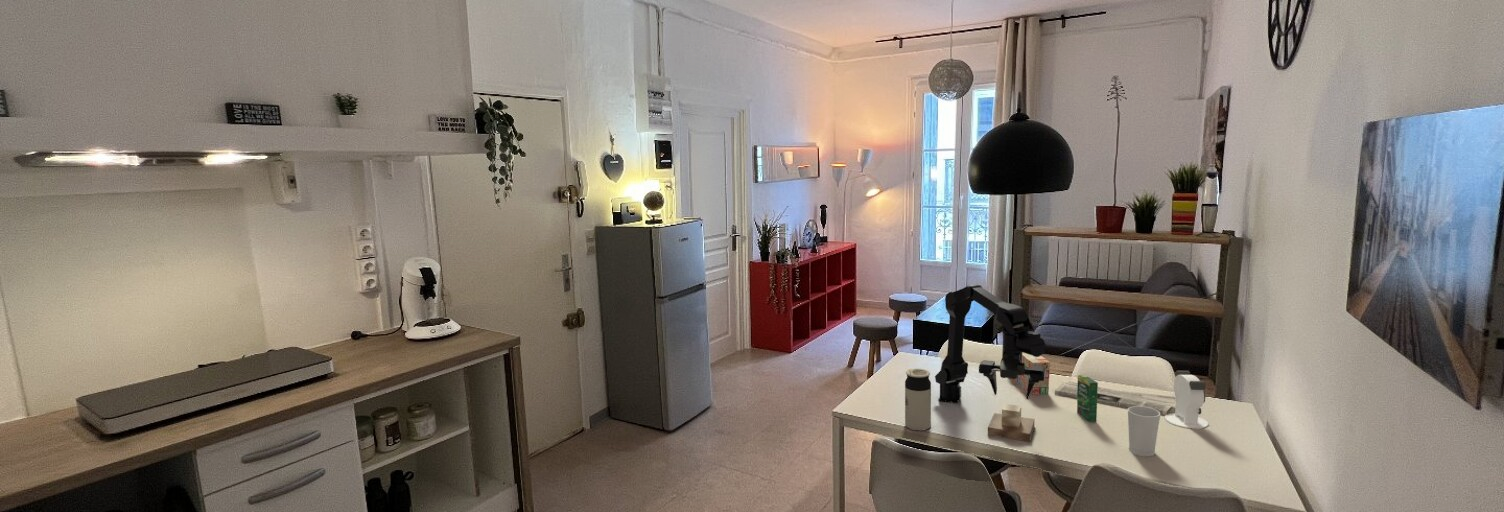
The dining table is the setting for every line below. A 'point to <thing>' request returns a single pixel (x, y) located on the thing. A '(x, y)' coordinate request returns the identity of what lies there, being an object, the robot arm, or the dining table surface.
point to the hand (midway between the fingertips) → (1011, 396)
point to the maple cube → (1011, 415)
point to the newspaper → (1121, 397)
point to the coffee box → (1087, 398)
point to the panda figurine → (1188, 401)
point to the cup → (1143, 430)
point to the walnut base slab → (1011, 428)
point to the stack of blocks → (1023, 380)
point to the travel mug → (918, 399)
